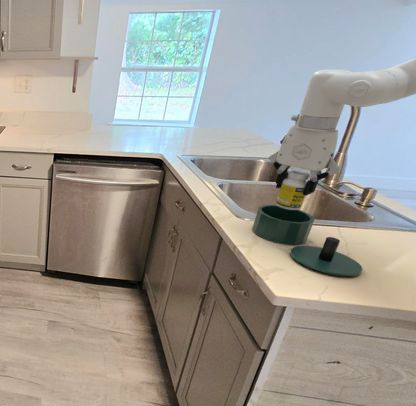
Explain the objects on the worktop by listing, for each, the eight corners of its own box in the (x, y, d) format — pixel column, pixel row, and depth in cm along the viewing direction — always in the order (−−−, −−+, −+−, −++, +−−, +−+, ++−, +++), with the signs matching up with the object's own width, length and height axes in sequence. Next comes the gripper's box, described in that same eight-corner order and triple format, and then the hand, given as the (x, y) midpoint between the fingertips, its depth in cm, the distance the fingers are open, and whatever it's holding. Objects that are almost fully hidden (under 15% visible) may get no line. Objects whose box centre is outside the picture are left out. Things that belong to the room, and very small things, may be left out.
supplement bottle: (289, 211, 96) (301, 176, 92) (270, 204, 101) (280, 170, 97) (305, 209, 97) (318, 174, 93) (285, 201, 102) (296, 168, 98)
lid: (370, 268, 87) (381, 243, 84) (346, 284, 81) (357, 259, 78) (304, 244, 97) (312, 222, 95) (279, 258, 92) (287, 234, 89)
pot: (314, 237, 100) (322, 216, 98) (292, 249, 95) (300, 227, 93) (265, 221, 110) (272, 201, 107) (243, 231, 105) (249, 210, 102)
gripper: (269, 119, 95) (250, 183, 103) (355, 130, 82) (326, 204, 89) (284, 116, 99) (264, 179, 106) (369, 126, 85) (340, 198, 92)
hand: (293, 190), depth 97 cm, fingers closed on supplement bottle, 5 cm apart
